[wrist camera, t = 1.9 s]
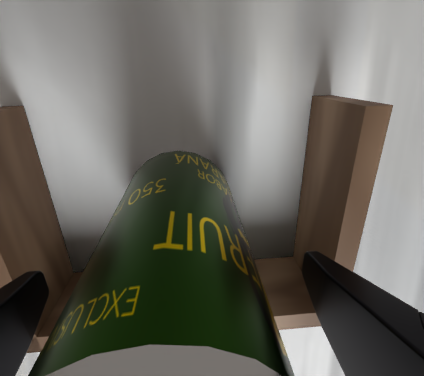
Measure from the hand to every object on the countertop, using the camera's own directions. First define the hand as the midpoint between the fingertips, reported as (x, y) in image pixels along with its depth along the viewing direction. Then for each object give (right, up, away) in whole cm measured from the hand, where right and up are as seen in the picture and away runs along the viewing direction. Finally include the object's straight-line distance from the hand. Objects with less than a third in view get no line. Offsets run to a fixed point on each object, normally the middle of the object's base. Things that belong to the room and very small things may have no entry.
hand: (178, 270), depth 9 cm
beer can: (-1, +3, +6) cm, 7 cm away
